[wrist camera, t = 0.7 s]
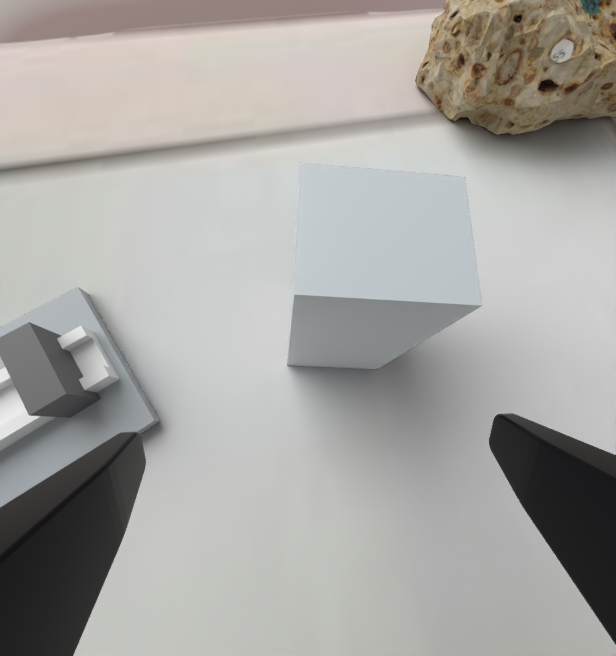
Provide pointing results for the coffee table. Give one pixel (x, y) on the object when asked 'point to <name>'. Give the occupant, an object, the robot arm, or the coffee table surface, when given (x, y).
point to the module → (377, 264)
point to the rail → (83, 426)
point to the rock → (522, 62)
